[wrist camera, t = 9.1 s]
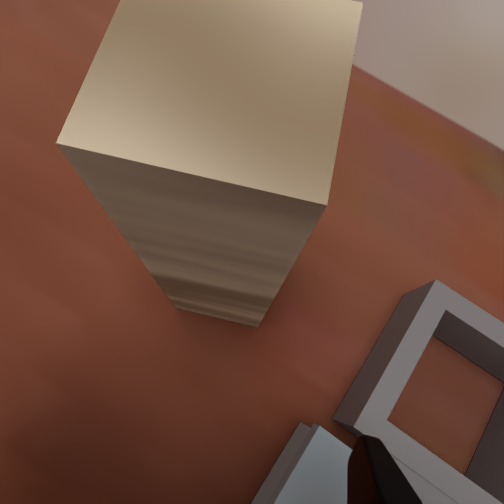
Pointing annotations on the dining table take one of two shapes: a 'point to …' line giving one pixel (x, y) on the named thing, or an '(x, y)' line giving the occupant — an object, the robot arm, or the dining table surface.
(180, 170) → the wooden block
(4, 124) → the dining table surface
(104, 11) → the dining table surface
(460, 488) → the toolbox
